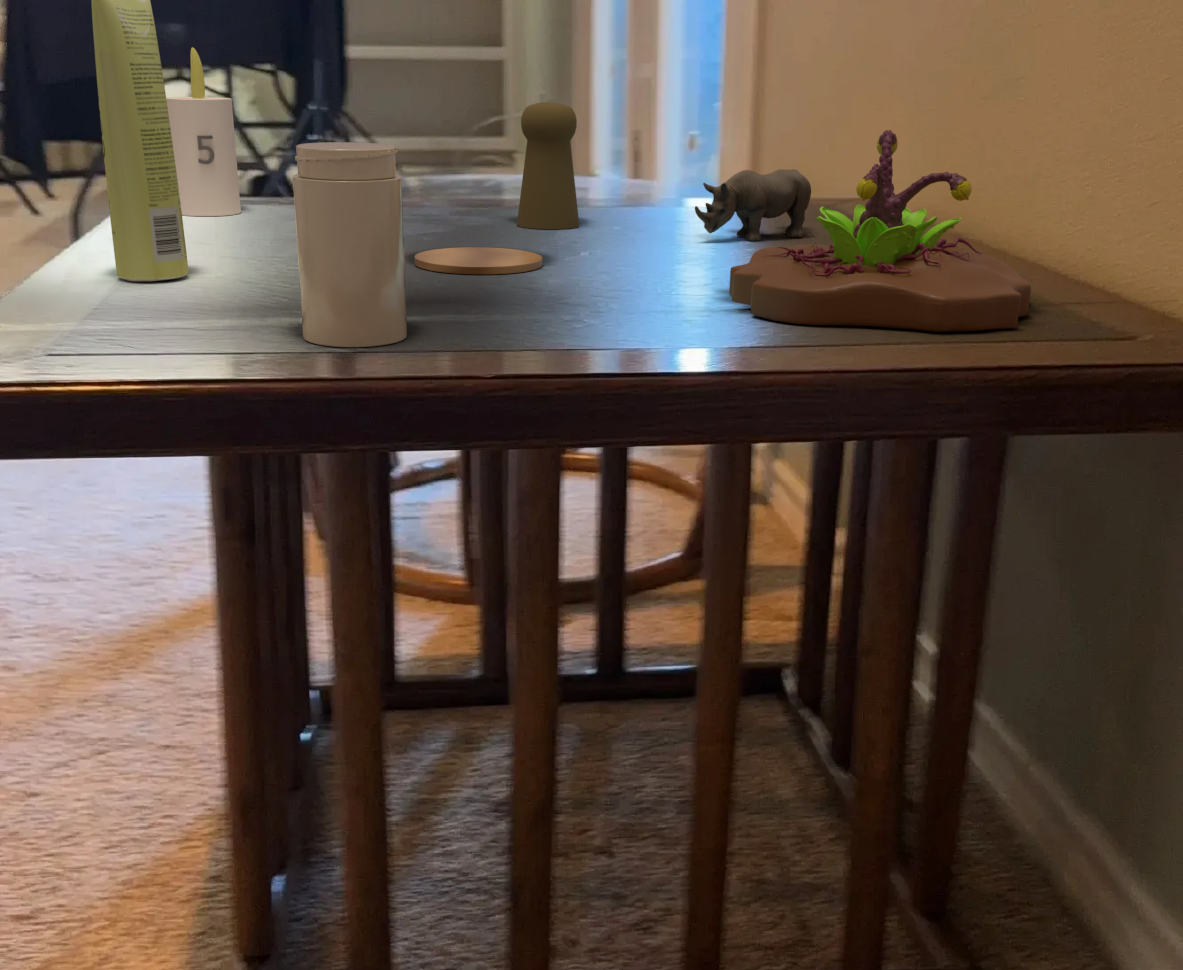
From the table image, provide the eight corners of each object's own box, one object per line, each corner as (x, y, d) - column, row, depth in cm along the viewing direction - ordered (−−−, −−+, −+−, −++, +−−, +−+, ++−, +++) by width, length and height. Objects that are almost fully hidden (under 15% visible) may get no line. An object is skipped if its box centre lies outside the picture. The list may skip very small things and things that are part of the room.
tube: (106, 273, 93) (68, -25, 86) (176, 268, 96) (145, -22, 88) (127, 285, 89) (90, -28, 81) (200, 280, 92) (170, -24, 84)
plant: (1011, 287, 96) (1034, 128, 92) (1039, 340, 79) (1070, 146, 74) (744, 272, 100) (754, 119, 96) (714, 320, 82) (725, 134, 78)
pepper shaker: (559, 230, 120) (560, 104, 116) (504, 225, 123) (504, 102, 118) (590, 224, 125) (593, 103, 121) (537, 219, 128) (538, 100, 123)
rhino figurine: (677, 239, 116) (680, 170, 114) (790, 231, 124) (795, 165, 121) (705, 245, 113) (709, 174, 111) (820, 236, 121) (826, 169, 118)
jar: (304, 348, 72) (291, 149, 68) (302, 327, 78) (289, 141, 73) (411, 345, 74) (405, 150, 69) (402, 325, 79) (395, 142, 75)
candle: (177, 217, 123) (160, 46, 117) (172, 209, 129) (155, 46, 123) (245, 215, 125) (231, 48, 119) (237, 207, 131) (223, 47, 125)
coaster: (421, 275, 96) (421, 267, 95) (408, 255, 105) (408, 247, 104) (553, 273, 98) (553, 265, 98) (530, 253, 107) (530, 246, 106)
